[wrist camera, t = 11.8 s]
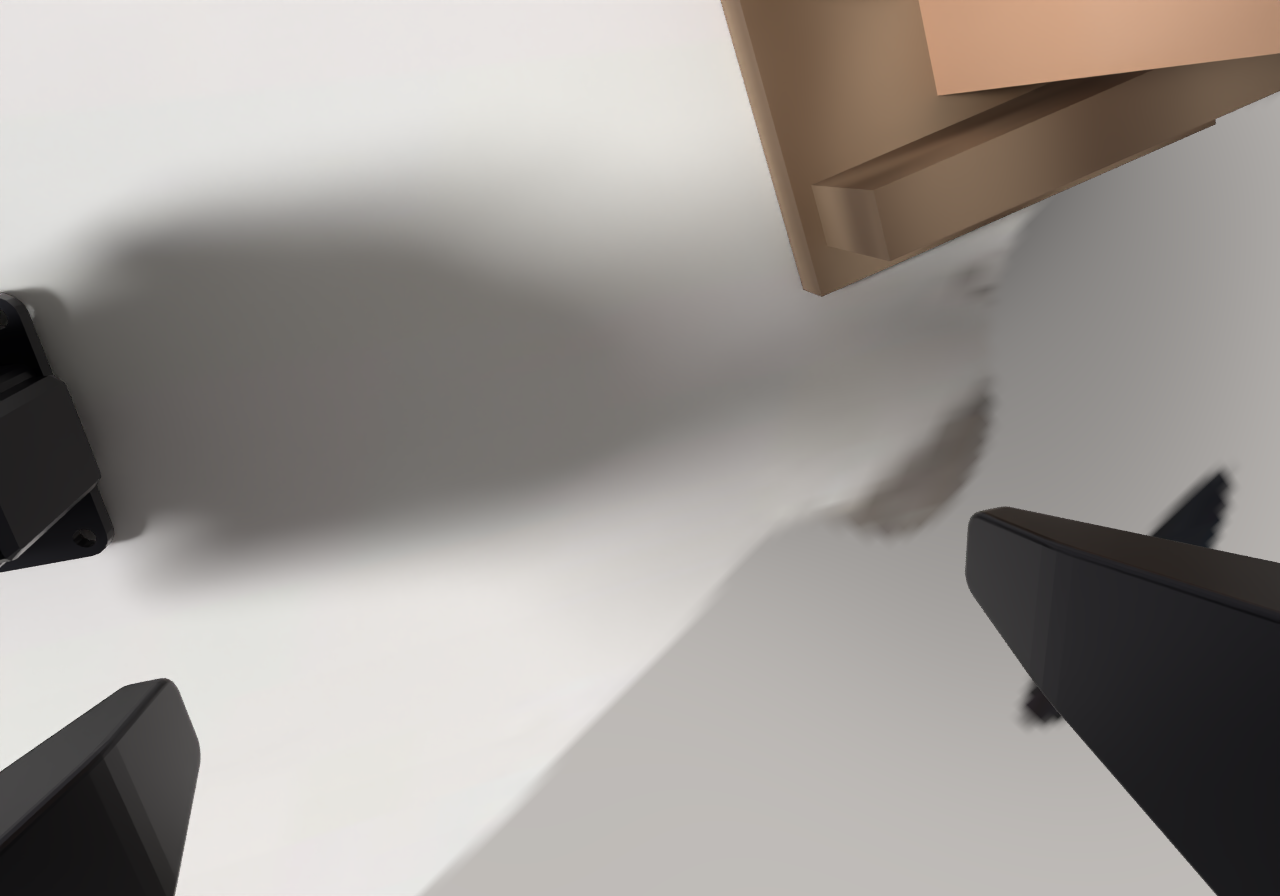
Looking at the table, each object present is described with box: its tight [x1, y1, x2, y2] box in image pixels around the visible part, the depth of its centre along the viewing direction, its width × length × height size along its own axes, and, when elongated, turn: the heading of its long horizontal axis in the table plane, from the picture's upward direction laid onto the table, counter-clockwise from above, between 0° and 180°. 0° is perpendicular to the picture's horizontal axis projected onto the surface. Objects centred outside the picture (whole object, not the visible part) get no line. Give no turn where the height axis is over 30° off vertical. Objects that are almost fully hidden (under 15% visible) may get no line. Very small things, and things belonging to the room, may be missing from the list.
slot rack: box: [721, 0, 1280, 296], centre depth 18 cm, size 12×10×4 cm
